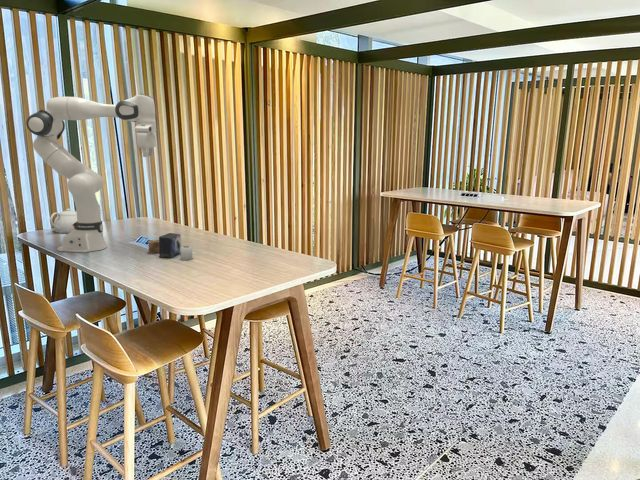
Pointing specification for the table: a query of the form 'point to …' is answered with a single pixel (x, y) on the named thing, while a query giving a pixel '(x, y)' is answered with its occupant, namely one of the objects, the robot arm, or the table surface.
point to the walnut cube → (153, 246)
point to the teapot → (64, 221)
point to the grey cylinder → (186, 252)
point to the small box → (169, 245)
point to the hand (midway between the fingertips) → (147, 156)
